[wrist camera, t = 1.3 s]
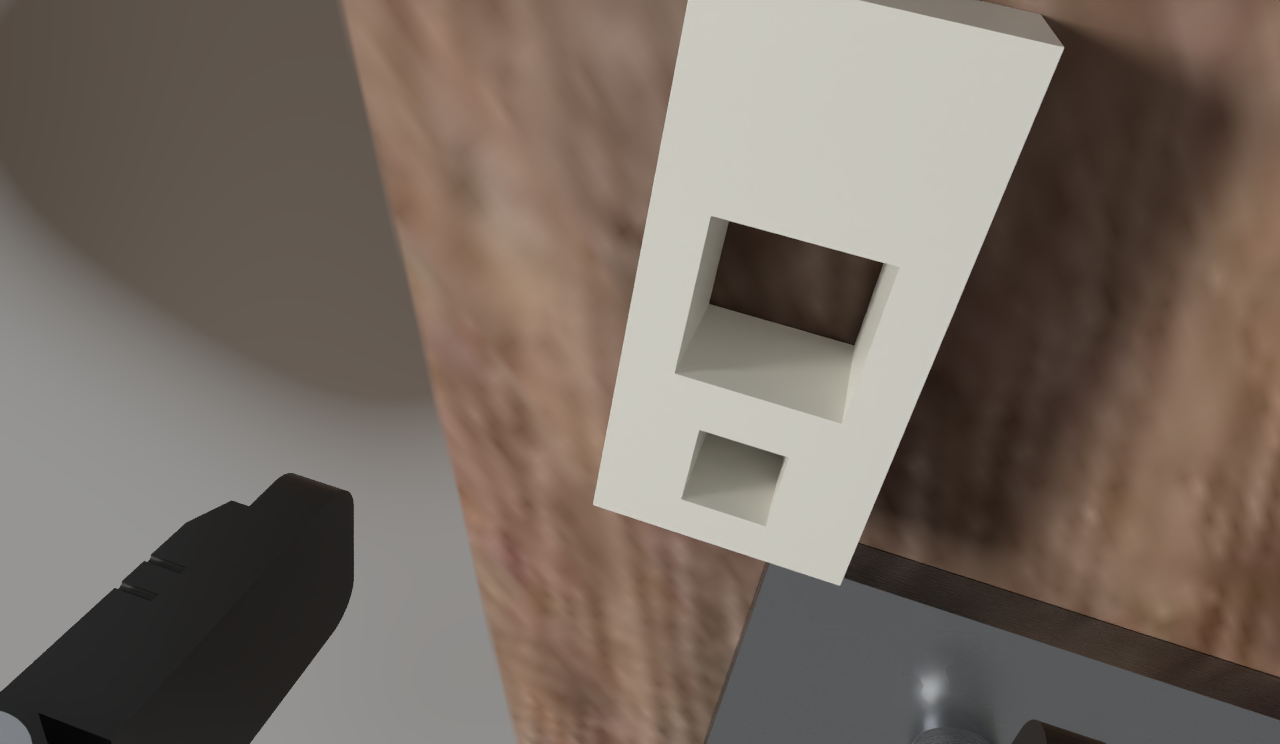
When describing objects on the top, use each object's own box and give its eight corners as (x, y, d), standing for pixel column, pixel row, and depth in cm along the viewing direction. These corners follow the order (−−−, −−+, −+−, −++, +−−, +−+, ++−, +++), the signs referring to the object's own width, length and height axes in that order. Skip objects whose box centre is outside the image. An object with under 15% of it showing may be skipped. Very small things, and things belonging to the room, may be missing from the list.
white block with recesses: (734, -56, 18) (695, -38, 15) (1040, 14, 17) (1064, 47, 14) (633, 426, 24) (593, 504, 21) (851, 494, 23) (839, 585, 20)
